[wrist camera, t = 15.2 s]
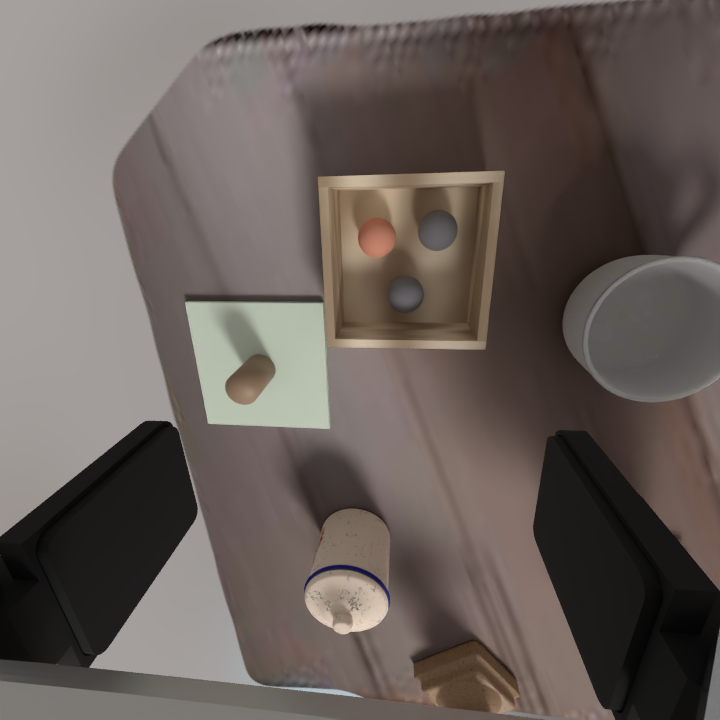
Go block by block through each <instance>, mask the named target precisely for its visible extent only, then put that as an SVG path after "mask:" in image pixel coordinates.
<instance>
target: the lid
mask: <svg viewBox="0 0 720 720" xmlns="http://www.w3.org/2000/svg"><path fill="white" fill-rule="evenodd" d="M185 305H186V310H187V315H188V320H189V325H190V331H191V336H192V341H193V346H194V351H195V357H196V362H197V367H198V372H199V378H200V383H201V388H202V393H203V398H204V404H205V409H206V414H207V419H208V424H229V425H252V426H275V427H298V428H321V429H330V426H331V424H330V405H329V387H328V368H327V349H326V331H325V312H324V302H267V301H187V302H185Z"/></svg>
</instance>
